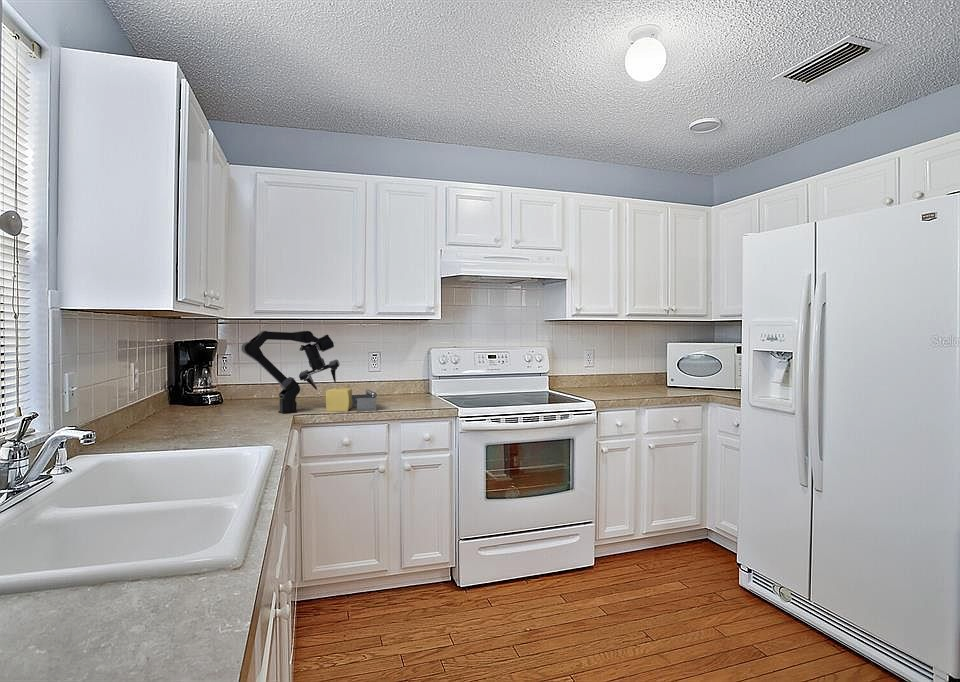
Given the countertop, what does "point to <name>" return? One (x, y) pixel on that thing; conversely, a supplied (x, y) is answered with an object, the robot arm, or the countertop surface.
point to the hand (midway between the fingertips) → (326, 386)
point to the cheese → (339, 399)
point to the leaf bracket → (365, 401)
